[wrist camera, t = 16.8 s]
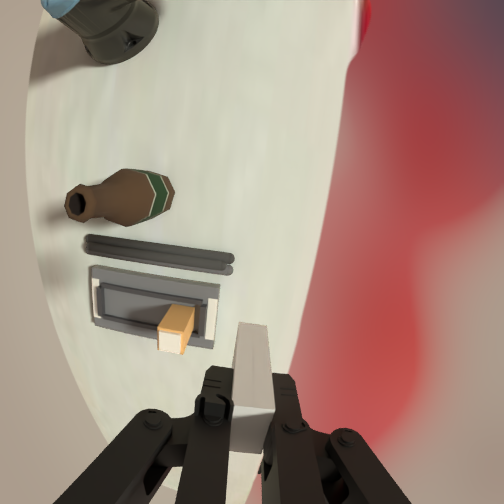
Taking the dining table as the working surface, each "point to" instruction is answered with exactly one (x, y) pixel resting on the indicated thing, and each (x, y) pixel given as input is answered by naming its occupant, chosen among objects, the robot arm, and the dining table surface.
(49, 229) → the dining table surface
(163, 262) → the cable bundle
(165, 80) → the dining table surface
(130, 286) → the grey rectangular tray
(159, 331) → the block
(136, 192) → the beer bottle
